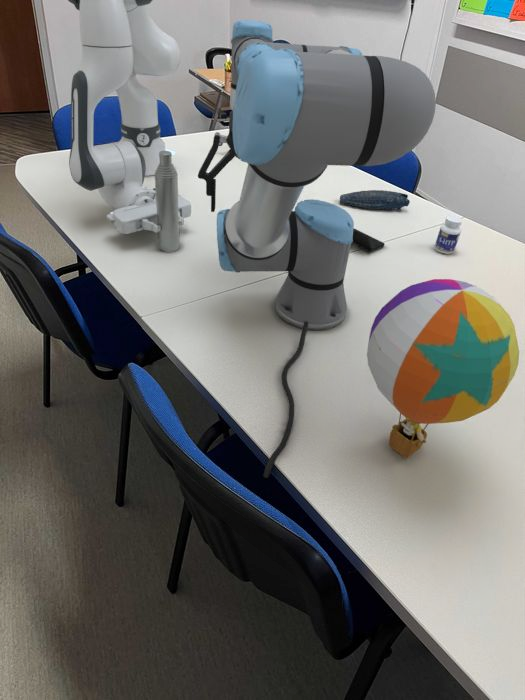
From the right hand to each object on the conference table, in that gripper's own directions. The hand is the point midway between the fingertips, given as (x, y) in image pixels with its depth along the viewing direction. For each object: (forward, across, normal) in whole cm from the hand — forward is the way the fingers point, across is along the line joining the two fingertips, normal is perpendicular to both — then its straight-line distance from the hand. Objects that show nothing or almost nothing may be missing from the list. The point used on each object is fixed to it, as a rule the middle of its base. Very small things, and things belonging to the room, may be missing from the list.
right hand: (243, 211), depth 117 cm
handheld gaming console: (+13, -31, -16) cm, 37 cm away
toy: (+15, -29, +55) cm, 64 cm away
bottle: (+14, +18, -7) cm, 24 cm away
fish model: (+13, -39, -42) cm, 59 cm away
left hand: (+7, +18, -6) cm, 20 cm away
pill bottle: (+14, -54, -16) cm, 58 cm away
